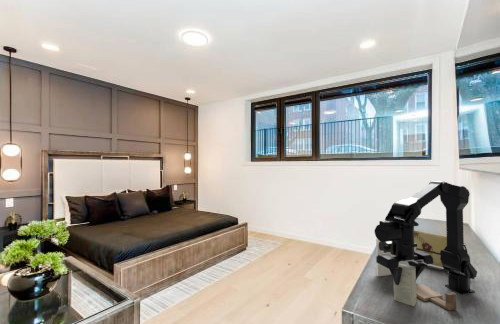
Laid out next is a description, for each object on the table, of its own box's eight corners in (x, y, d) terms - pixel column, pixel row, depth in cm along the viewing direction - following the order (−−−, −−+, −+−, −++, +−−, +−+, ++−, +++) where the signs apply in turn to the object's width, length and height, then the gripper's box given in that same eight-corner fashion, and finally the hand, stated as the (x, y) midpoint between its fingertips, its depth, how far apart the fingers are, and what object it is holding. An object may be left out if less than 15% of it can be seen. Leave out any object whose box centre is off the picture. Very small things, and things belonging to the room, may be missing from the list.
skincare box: (417, 301, 85) (416, 266, 85) (413, 307, 82) (413, 270, 82) (396, 295, 90) (396, 261, 90) (392, 299, 86) (392, 265, 86)
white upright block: (398, 272, 108) (397, 236, 108) (416, 282, 99) (415, 243, 99) (376, 275, 105) (376, 238, 105) (393, 285, 96) (392, 245, 97)
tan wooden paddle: (422, 287, 95) (422, 273, 95) (462, 309, 80) (462, 293, 80) (404, 289, 93) (404, 275, 93) (443, 312, 79) (442, 296, 79)
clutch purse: (389, 257, 125) (388, 228, 125) (394, 254, 130) (394, 225, 130) (465, 278, 102) (465, 242, 102) (469, 273, 107) (468, 239, 107)
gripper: (407, 231, 96) (407, 271, 96) (365, 234, 92) (365, 276, 92) (434, 239, 85) (434, 284, 85) (388, 243, 81) (388, 291, 81)
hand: (404, 283), depth 86 cm, fingers closed on skincare box, 6 cm apart
